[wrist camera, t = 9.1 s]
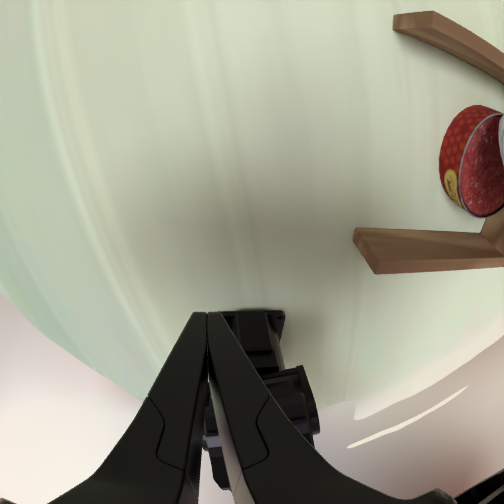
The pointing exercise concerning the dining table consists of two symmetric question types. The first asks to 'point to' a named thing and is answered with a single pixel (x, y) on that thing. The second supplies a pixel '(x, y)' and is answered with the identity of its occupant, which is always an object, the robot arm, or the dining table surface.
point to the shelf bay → (439, 242)
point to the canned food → (474, 161)
